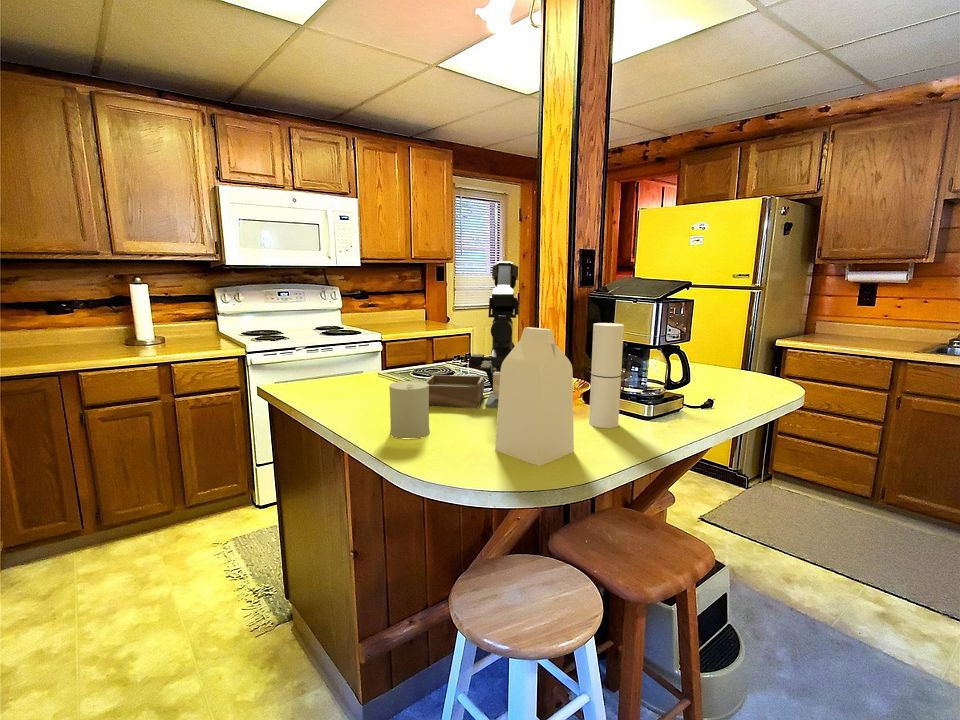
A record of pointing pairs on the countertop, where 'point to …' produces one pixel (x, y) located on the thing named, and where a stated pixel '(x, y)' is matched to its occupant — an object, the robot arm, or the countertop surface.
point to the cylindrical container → (606, 374)
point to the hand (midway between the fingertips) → (501, 390)
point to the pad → (492, 401)
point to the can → (409, 409)
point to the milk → (535, 400)
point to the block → (496, 383)
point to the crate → (455, 391)
